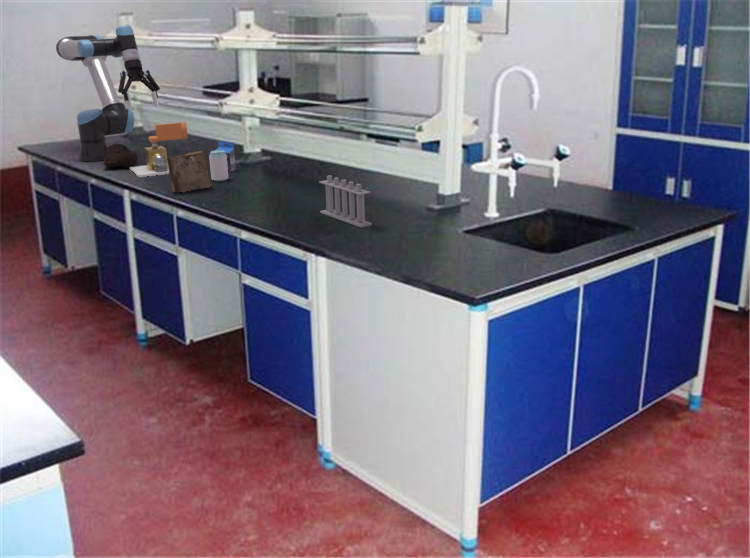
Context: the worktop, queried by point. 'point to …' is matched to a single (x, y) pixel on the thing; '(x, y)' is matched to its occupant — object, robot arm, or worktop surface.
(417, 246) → the worktop surface
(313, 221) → the worktop surface
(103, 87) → the robot arm
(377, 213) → the worktop surface
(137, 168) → the mount board
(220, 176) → the can
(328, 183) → the test tube rack
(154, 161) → the valve
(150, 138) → the lever
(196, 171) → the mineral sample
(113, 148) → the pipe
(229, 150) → the label tape cartridge
